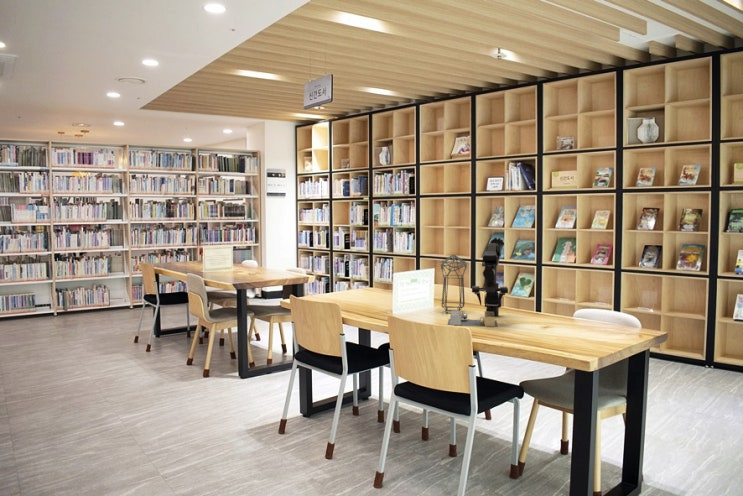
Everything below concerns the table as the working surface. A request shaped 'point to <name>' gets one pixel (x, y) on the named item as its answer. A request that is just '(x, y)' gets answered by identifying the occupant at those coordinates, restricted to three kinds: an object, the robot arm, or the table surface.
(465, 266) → the geometric lantern
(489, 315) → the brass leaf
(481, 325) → the jig board
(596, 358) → the table surface
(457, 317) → the grey block with knob
